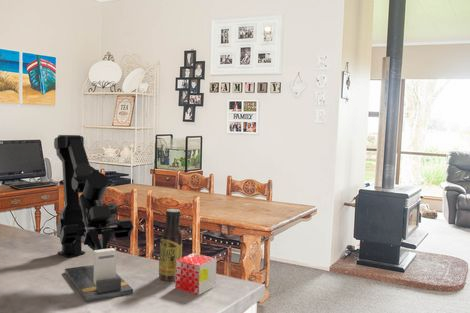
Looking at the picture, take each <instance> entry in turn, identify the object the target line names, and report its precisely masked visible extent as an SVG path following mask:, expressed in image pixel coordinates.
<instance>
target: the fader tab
mask: <svg viewBox="0 0 470 313" xmlns="http://www.w3.org/2000/svg"><path fill="white" fill-rule="evenodd" d="M93 265H94V284H95V285H96V281H99V280H105V279H112V278H116V273H117V249H116V248H114V247H112V248H107V249H101V250H94V251H93Z"/></svg>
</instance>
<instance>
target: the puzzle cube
mask: <svg viewBox="0 0 470 313" xmlns="http://www.w3.org/2000/svg"><path fill="white" fill-rule="evenodd" d="M174 281H175V285H174V287H175V289H178V290H179V291H180V290H181V291H184V292H186V293H187V292H188V293H191V294H195V295H201V294H203V293H205V292H207V291H209V290H210V289H212V288H214V287H216V284H217V258H216V257H212V256H207V255H203V254H200V253H194V252H193V253H190V254H188V255H184V256H182V258H180V259H177V260H176V279H175V280H174Z"/></svg>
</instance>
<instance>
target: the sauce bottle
mask: <svg viewBox="0 0 470 313" xmlns="http://www.w3.org/2000/svg"><path fill="white" fill-rule="evenodd" d="M165 216H166V218H165V226H164V229H163V232H162V234H161V237H160V243H159V244H160V245H159V261H158V277H159V279H160V280H162V281H168V282H173V281H175V279H176V260H177V259H180V258H182V257H183V256H182V254H183V232H182V230H181V228H180V216H181V210H180V209H177V208H169V209H168V208H167V209H166V211H165Z"/></svg>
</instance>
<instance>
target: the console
mask: <svg viewBox="0 0 470 313" xmlns="http://www.w3.org/2000/svg"><path fill="white" fill-rule="evenodd" d="M64 274H65V275H66V277H67V278H68V279H69V281H70V282H71V283H72V285H73V286H74V287H75V289H76V290H77V292H78V293H79V294H80V296H81V297H82V298H83V299H84V301H85V302H86V303H87V302H93V301H98V300H99V301H100V300H103V299H110V298H111V299H112V298H115V297H116V298H118V297H121V296H127V295H134V288H132V287H131V286H130V285H129V284H128V282H126V281H125V280H124V279H123V278H122V277H121V276H120V275H119V274H118V273H117V272H116V278H112V279H105V280H99V281H96V285H95V284H94V264H90V265H84V266H83V265H82V266H76V267H68V268H67V267H66V268H64Z"/></svg>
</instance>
